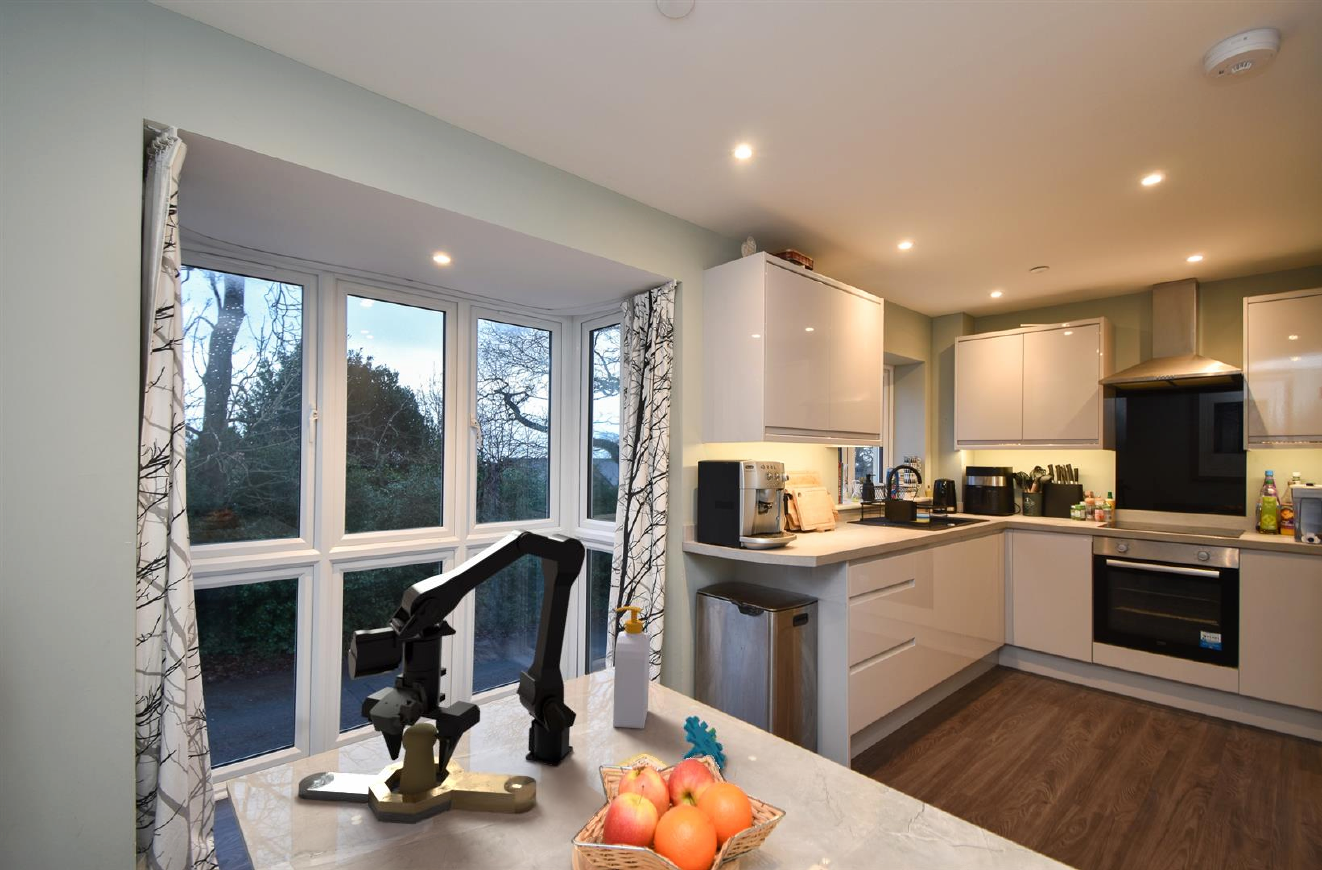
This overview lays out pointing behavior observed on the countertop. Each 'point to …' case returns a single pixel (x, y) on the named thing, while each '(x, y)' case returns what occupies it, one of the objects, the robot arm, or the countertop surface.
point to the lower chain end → (361, 794)
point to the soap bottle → (631, 674)
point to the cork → (418, 759)
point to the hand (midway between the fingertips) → (418, 765)
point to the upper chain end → (457, 791)
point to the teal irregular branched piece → (703, 740)
